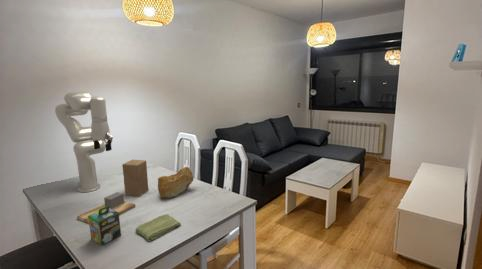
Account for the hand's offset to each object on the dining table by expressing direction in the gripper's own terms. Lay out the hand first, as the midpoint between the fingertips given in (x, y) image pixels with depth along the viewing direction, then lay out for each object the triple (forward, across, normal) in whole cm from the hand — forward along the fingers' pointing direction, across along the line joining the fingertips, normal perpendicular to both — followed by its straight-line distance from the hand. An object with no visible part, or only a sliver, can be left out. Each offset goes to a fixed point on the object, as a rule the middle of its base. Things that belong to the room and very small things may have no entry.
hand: (102, 149), depth 142 cm
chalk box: (+31, +33, -26) cm, 52 cm away
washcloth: (+31, +49, -11) cm, 59 cm away
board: (+30, +14, -11) cm, 35 cm away
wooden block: (+31, +8, +14) cm, 34 cm away
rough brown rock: (+31, +28, +25) cm, 48 cm away
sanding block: (+29, +14, -6) cm, 33 cm away
